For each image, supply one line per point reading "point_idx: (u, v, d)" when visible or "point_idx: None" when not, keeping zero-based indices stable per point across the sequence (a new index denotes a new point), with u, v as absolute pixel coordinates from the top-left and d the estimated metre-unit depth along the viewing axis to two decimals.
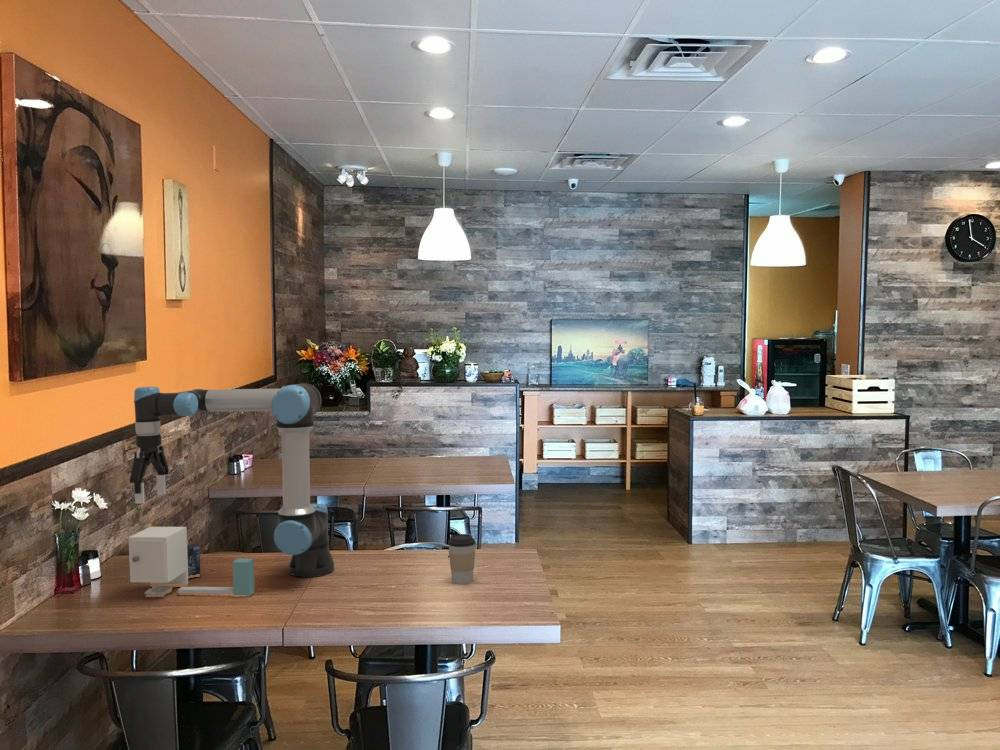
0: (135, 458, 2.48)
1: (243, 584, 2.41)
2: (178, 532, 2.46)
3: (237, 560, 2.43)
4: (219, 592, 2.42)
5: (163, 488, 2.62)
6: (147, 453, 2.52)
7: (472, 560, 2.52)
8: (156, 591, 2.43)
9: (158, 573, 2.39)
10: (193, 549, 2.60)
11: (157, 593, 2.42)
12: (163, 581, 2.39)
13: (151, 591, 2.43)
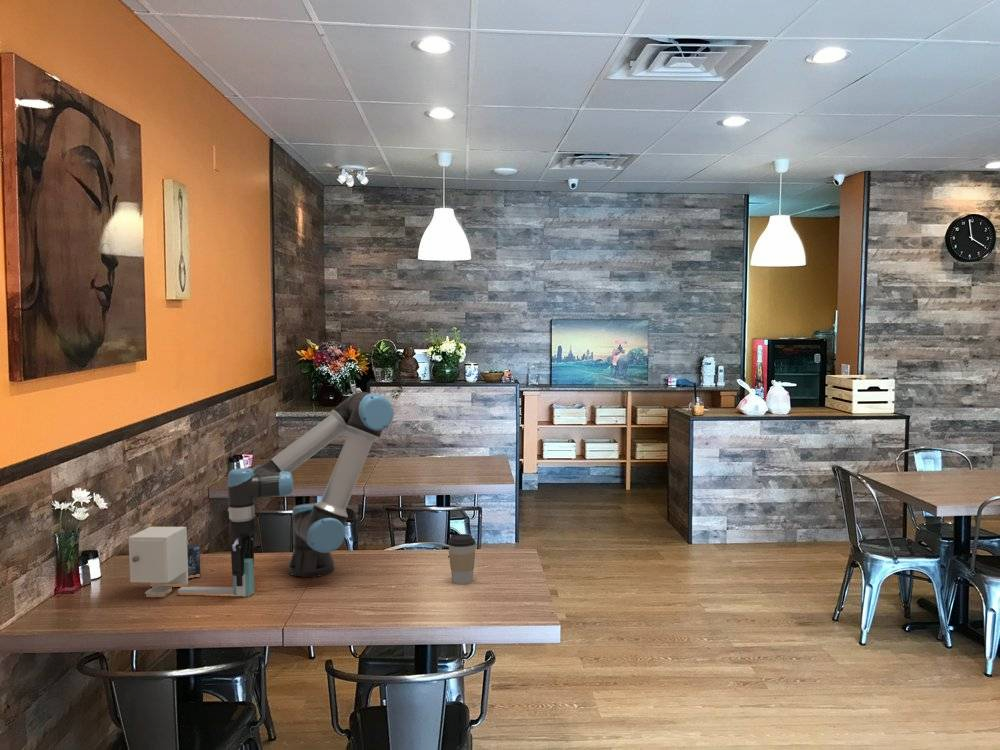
0: (232, 551, 2.37)
1: None
2: (178, 532, 2.46)
3: None
4: (219, 592, 2.42)
5: None
6: (241, 540, 2.39)
7: (472, 560, 2.52)
8: (157, 591, 2.43)
9: (158, 573, 2.39)
10: (193, 549, 2.60)
11: (158, 593, 2.42)
12: (163, 581, 2.39)
13: (151, 591, 2.43)
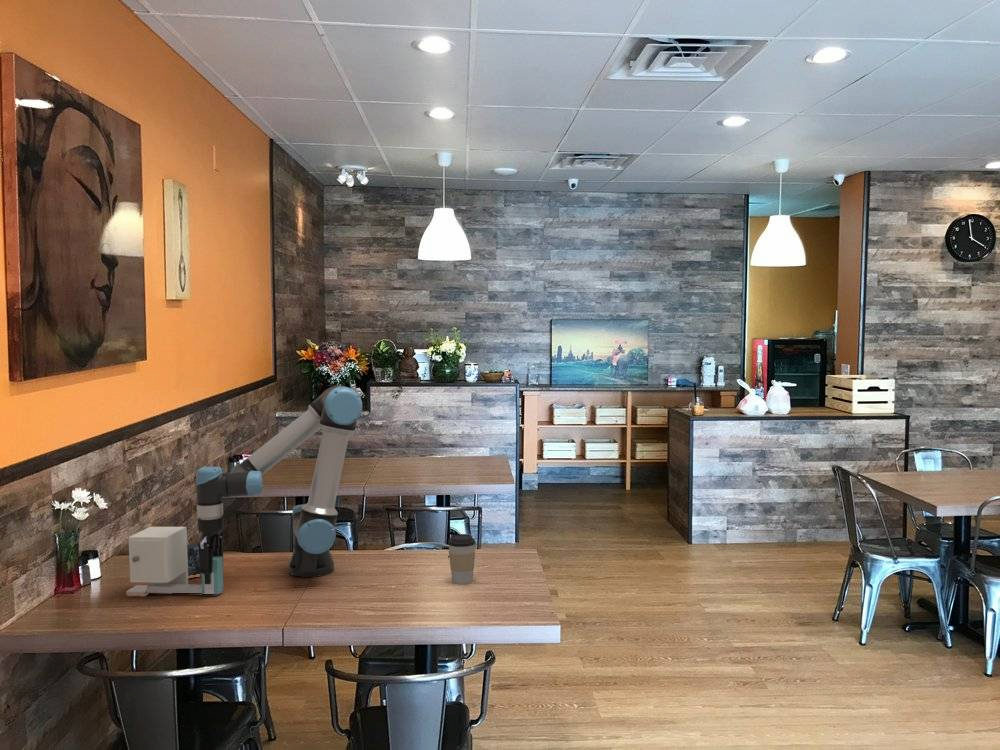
0: (200, 549, 2.37)
1: None
2: (178, 532, 2.46)
3: None
4: (188, 589, 2.43)
5: None
6: (210, 538, 2.40)
7: (472, 560, 2.52)
8: (138, 590, 2.44)
9: (158, 573, 2.39)
10: (193, 549, 2.60)
11: (139, 593, 2.43)
12: (163, 581, 2.39)
13: (133, 590, 2.44)
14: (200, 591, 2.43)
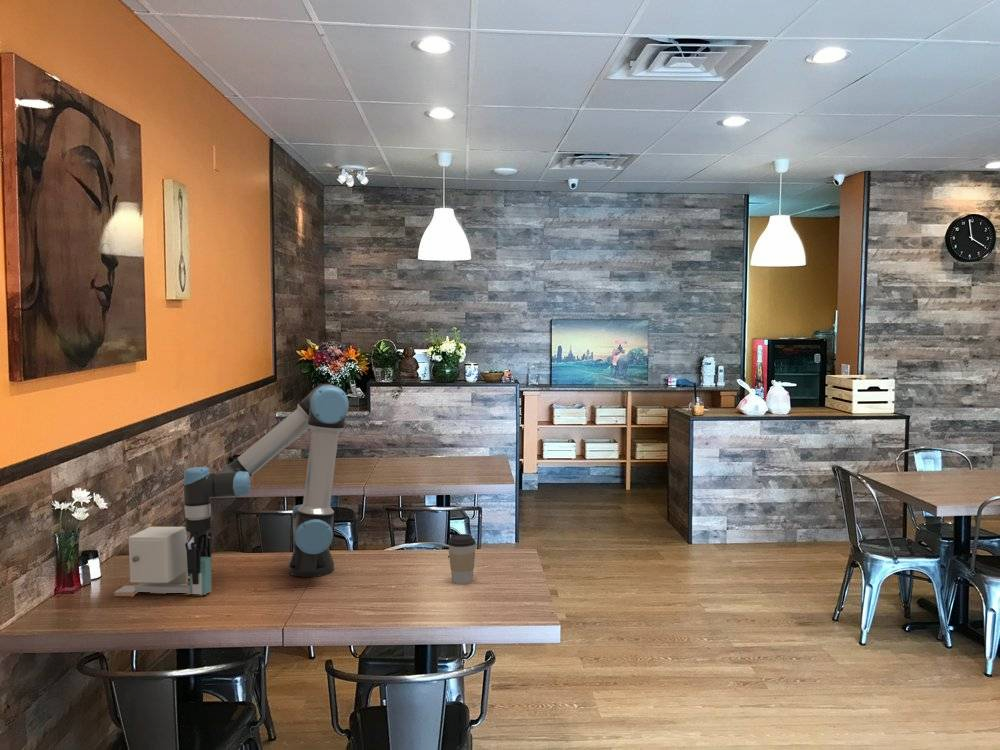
0: (187, 549, 2.38)
1: None
2: (178, 532, 2.46)
3: None
4: (176, 589, 2.43)
5: None
6: (197, 538, 2.40)
7: (472, 560, 2.52)
8: (126, 591, 2.44)
9: (158, 573, 2.39)
10: None
11: None
12: (163, 581, 2.39)
13: (121, 591, 2.44)
14: (188, 591, 2.43)
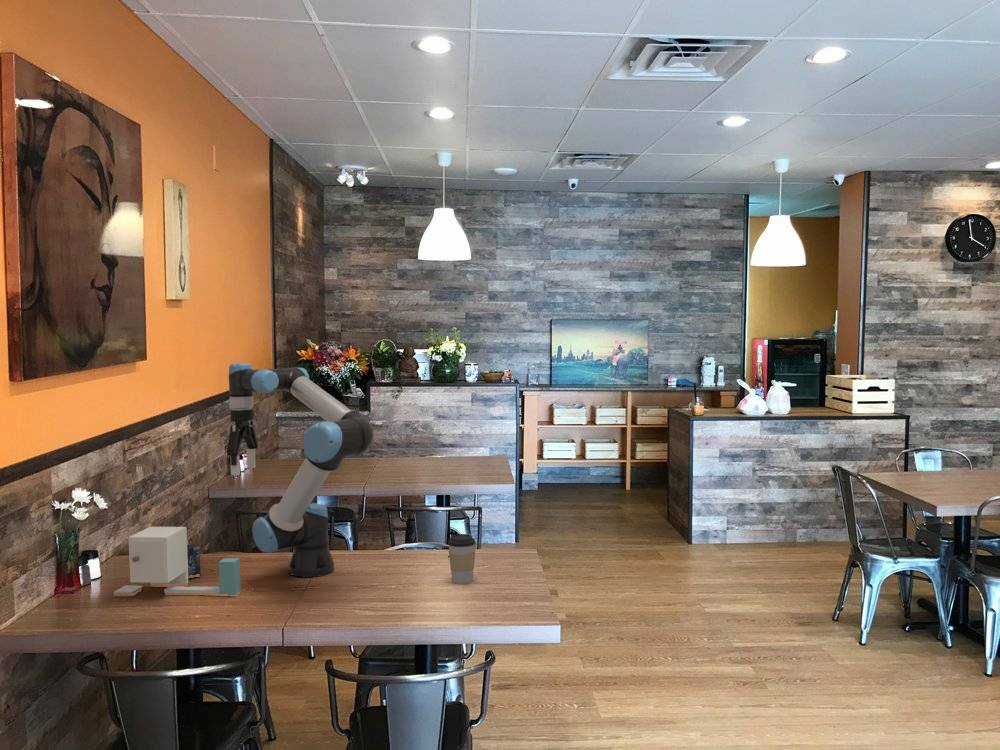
0: (231, 431, 2.57)
1: (229, 584, 2.41)
2: (178, 532, 2.46)
3: (223, 560, 2.43)
4: (205, 592, 2.43)
5: (253, 462, 2.71)
6: (241, 427, 2.61)
7: (472, 560, 2.52)
8: (126, 591, 2.44)
9: (158, 573, 2.39)
10: (193, 549, 2.60)
11: None
12: (163, 581, 2.39)
13: (120, 590, 2.44)
14: (218, 593, 2.42)
